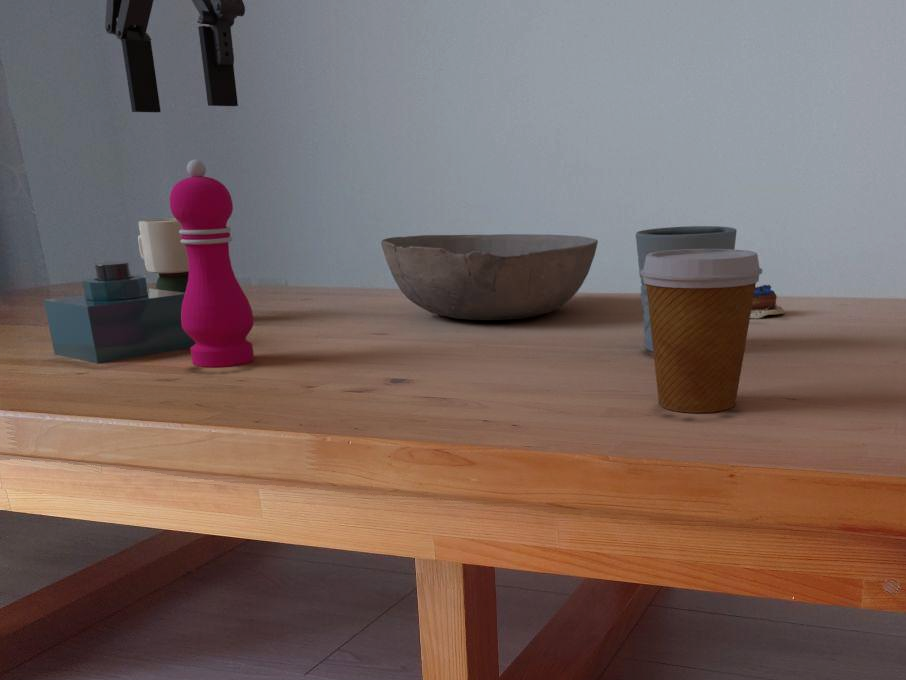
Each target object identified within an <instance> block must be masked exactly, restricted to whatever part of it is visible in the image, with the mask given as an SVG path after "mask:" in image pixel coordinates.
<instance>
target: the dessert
mask: <svg viewBox="0 0 906 680" xmlns="http://www.w3.org/2000/svg"><path fill="white" fill-rule="evenodd" d="M777 297H778V295H777V294H776V293H775V291H774V290H773V289H772V286H771V285H770V284H763V285H760V286H755V291H754V297H753V304H752V309H751V315H750V319H755V320H757V319H761V318H764V317H765V316H769V315H772V316H773V315H780V314H781V315H782V314H785V309H784V308H783V307H782V306H781V305H778V304H777V299H778V298H777Z"/></svg>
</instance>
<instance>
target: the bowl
mask: <svg viewBox="0 0 906 680" xmlns="http://www.w3.org/2000/svg"><path fill="white" fill-rule="evenodd" d="M598 243H599V241H598V239H595V238H591V237H587V236H582V235H566V234H535V233H534V234H533V233H532V234H530V233H529V234H528V233H525V234H524V233H523V234H522V233H521V234H519V233H518V234H517V233H509V234H508V233H507V234H505V233H504V234H503V233H502V234H501V233H499V234H423V235H422V234H420V235H408V236H393V237H388V238H384V239H382V240H381V241H380V245H381V248H382V252H383V254H384V258H385V261H386V263H387V266H388V269H389V271H390V273H391V276H392V277H393V278H392V279H393V280H394V282H395V284H396V286H397V287H398V288H399V290H400V292H401V293H402V294H403V295H404V296H405V297H406V298H407V299H408V300H409V301H410V302H411V303H413V304H414V305H416V306H418V307H419V308H421V309H423V310H424V311H426V312H429V313H431V314H434V315H438V316H443V317H446V318H447V317H448V318H453V319H461V320H472V321H507V320H519V319H526V318H530V317H531V318H532V317H537V316H539V315H544V314H548V313H550V312H553V311H555V310H558V309H559V308H561V307H563V305H565V304H566V303H567V302H569V301H570V300H572V298H573V297H574V296H575V295H576V293H578V291H579V290H580V288H581V287H582V286H583V284H584V282H585V280H586V278H587V276H588V274H589V272H590V269H591V266H592V263H593V261H594V258H595V255H596V251H597V247H598Z"/></svg>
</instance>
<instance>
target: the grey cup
mask: <svg viewBox="0 0 906 680" xmlns="http://www.w3.org/2000/svg"><path fill="white" fill-rule="evenodd" d="M736 240H737V228H735V227H730V226H717V225H691V226H669V227H658V228H650V229H643V230H639V231H636V233H635V242H636V253H637V261H638V272H639V274H638V275H639V279H640V284H641V285H640V297H641V307H642V308H641V309H642V311H643V319H642V321H643V337H644V346H645V347H644V348H645V349H646V350H648V351H651V352H653V344H652V335H651V326H650V316H649V307H648V297H647V288H646V284H645V283H644V279H643V276H642V275H641V273H640V271H641V270H643V269H644V265H645V260H646V256H647V254H649V253H653V252H659V251H669V250H684V249H733V250H736Z"/></svg>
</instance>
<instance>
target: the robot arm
mask: <svg viewBox="0 0 906 680" xmlns="http://www.w3.org/2000/svg"><path fill="white" fill-rule="evenodd" d="M191 2H192V4H193V5H194V7H195V8H196V10H197V12H198V14H199V16H198V19H197V21H196V22H197V24H200V25H199V26H198V27H197V29H198V37H199V44H200V45H199V46H200V52H201V61H202V69H203V70H202V71H203V78H204V84H205V92H206V93H205V94H206V101H207V106H208V107H239V103H238V102H239V101H238V93H237V84H236V77H235V68H234V67H235V65H234V63H235V54H234V47H233V38H232V37H233V36H232V27H233V26H234V24H235V20H236V18H237V17H244V16H245V13H246V7H245V3H244V1H243V0H191ZM153 5H154V0H106V5H105V23H104V29H105V31H106V33H107V34H110V35H114V36H115V37H116V39H117V40H120V42H121V47H122V48H121V49H122V53H123V61H124V68H125V74H126V80H127V88H128V94H129V100H130V107H131V112H132V113H162V112H161V111H162V110H161V104H160V96H159V90H158V83H157V75H156V69H155V67H156V66H155V62H154V61H155V60H154V53H153V45H152V38H151V36H150V35H149V34H148V32H147V30H148V25H149V21H150V17H151V13H152V8H153Z"/></svg>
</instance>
